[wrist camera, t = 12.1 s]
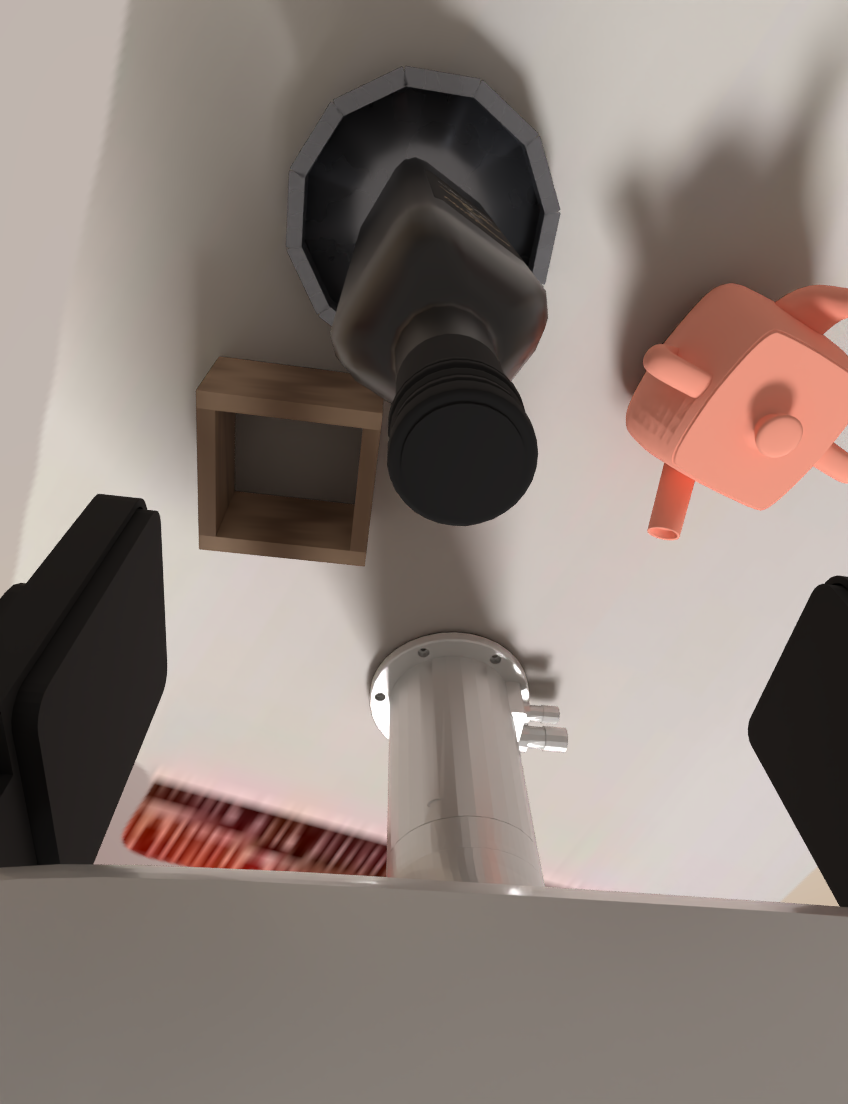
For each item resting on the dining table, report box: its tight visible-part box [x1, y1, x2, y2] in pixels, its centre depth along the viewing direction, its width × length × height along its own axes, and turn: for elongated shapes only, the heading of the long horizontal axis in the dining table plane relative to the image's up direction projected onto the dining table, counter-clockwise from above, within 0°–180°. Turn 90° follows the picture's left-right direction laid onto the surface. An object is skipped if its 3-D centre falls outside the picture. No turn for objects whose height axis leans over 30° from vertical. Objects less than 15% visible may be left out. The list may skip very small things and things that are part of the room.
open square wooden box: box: [196, 356, 384, 566], centre depth 45 cm, size 10×10×6 cm
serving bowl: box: [286, 66, 560, 326], centre depth 40 cm, size 14×14×3 cm
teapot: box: [626, 283, 848, 540], centre depth 42 cm, size 14×12×10 cm
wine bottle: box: [330, 157, 548, 526], centre depth 27 cm, size 6×6×30 cm
